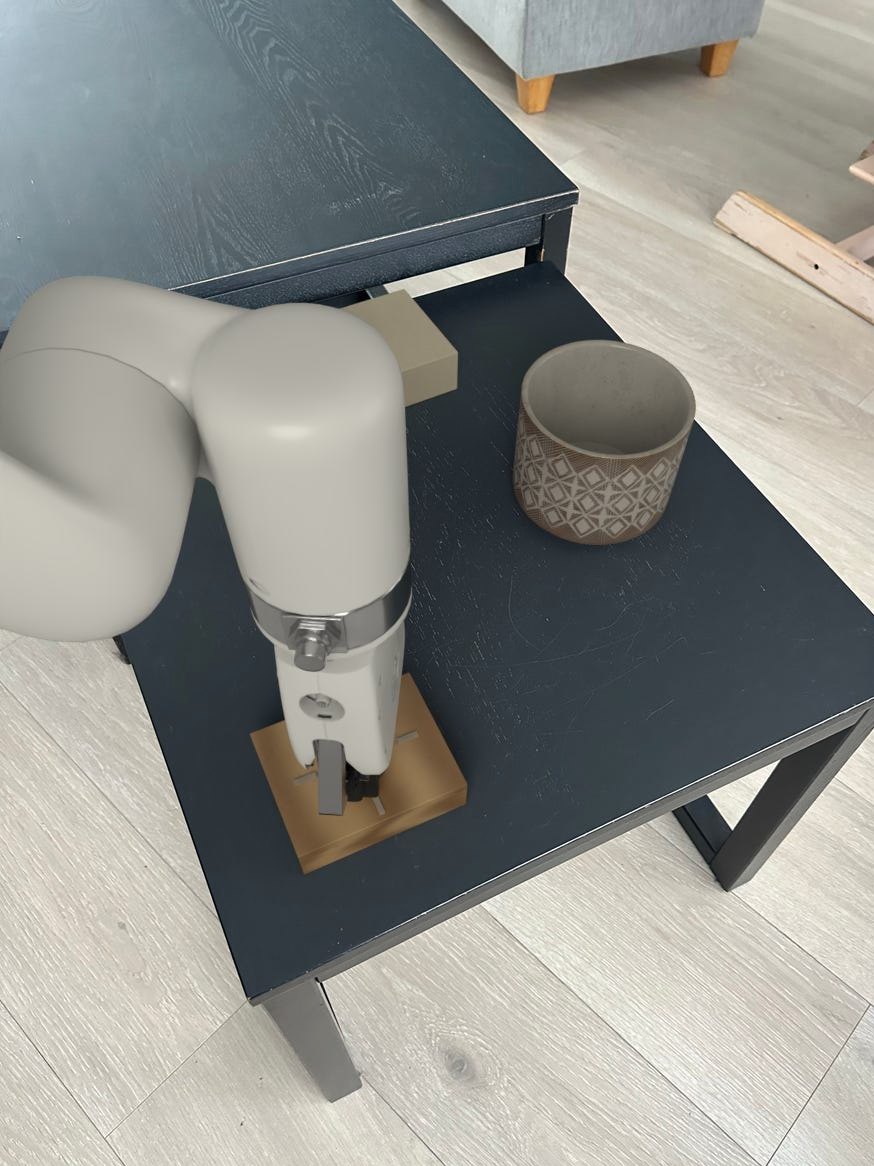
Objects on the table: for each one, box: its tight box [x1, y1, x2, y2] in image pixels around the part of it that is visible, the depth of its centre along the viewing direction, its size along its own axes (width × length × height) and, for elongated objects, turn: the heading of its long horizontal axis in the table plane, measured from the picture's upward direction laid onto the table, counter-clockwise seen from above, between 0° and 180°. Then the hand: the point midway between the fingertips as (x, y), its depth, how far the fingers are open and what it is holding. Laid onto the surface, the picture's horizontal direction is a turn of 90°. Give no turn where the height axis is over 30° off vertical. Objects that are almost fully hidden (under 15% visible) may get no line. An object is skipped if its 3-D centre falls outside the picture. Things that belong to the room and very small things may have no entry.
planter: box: [511, 339, 697, 546], centre depth 70 cm, size 13×13×10 cm
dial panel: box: [249, 672, 468, 875], centre depth 58 cm, size 11×9×3 cm
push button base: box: [339, 288, 459, 408], centre depth 78 cm, size 14×10×6 cm
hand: (357, 754), depth 56 cm, fingers closed on dial, 4 cm apart
